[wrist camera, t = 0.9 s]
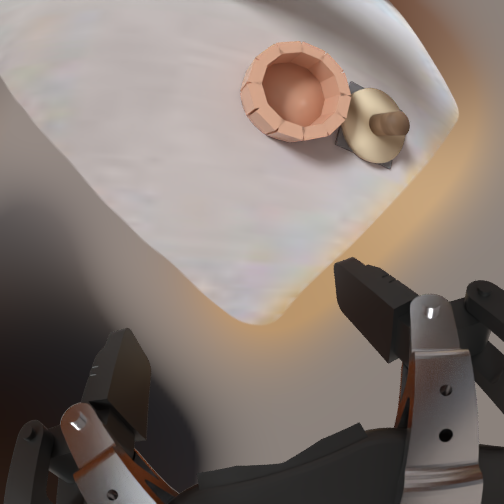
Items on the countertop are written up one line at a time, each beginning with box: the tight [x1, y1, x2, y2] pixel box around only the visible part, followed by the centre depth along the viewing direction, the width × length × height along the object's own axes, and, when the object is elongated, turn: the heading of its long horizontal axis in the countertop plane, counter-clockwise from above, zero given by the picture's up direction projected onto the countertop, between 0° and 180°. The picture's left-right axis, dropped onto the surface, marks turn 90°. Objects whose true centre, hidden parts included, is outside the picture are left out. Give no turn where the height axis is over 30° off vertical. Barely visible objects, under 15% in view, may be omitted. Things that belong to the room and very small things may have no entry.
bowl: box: [240, 41, 351, 142], centre depth 28 cm, size 12×12×5 cm
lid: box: [341, 88, 410, 163], centre depth 30 cm, size 11×11×6 cm
